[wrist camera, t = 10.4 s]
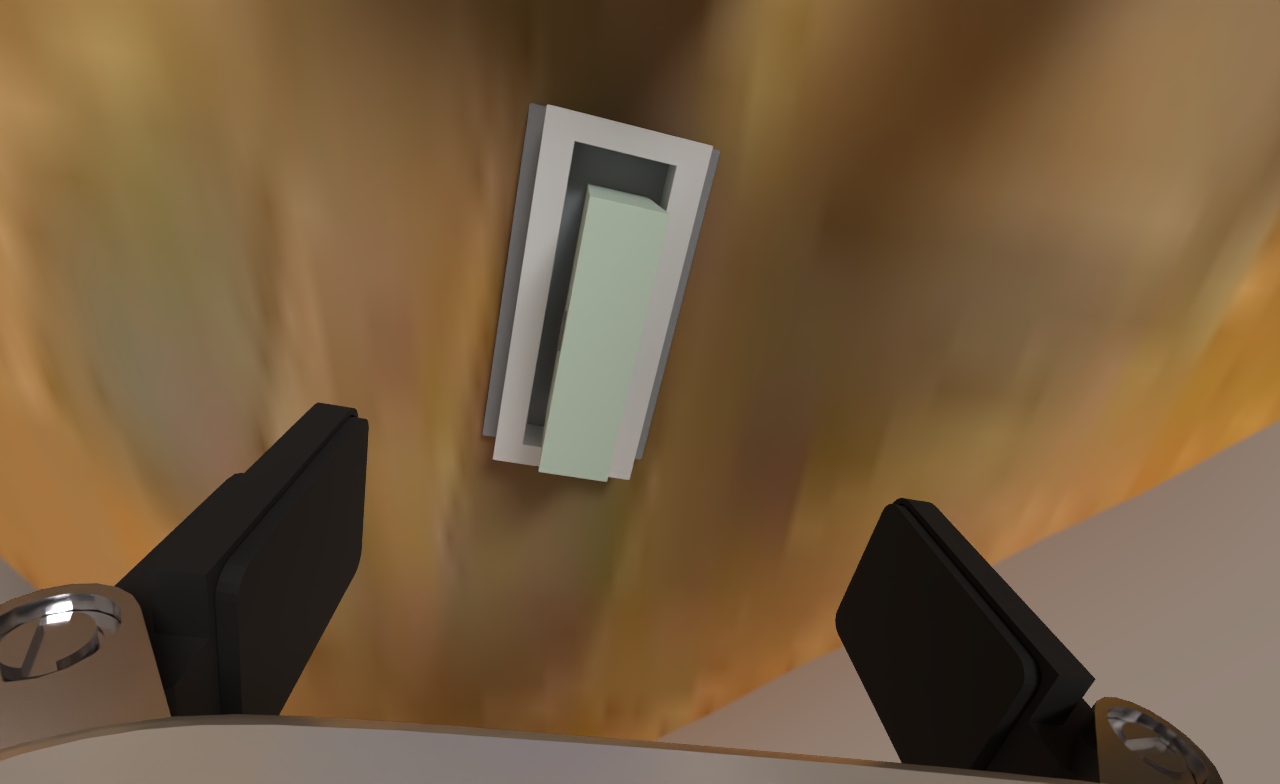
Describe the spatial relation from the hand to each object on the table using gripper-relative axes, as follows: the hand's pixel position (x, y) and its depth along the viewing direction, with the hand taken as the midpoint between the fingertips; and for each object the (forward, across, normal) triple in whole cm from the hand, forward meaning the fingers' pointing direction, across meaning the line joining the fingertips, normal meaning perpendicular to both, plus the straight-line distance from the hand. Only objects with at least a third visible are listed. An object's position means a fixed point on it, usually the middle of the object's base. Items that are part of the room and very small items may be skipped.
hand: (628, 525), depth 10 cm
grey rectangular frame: (+18, 0, +1) cm, 18 cm away
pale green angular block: (+18, 0, +1) cm, 18 cm away
